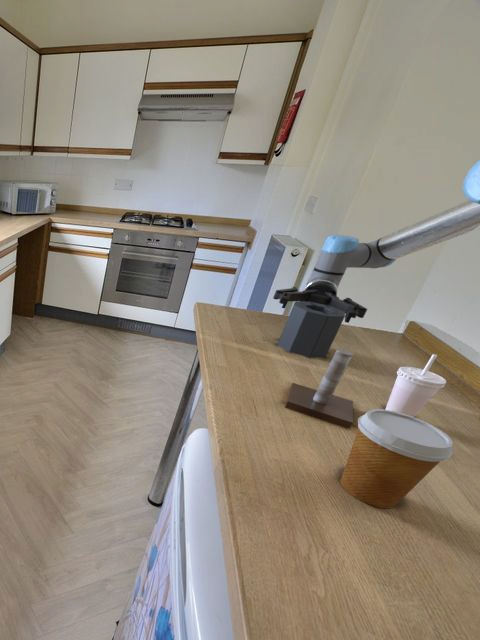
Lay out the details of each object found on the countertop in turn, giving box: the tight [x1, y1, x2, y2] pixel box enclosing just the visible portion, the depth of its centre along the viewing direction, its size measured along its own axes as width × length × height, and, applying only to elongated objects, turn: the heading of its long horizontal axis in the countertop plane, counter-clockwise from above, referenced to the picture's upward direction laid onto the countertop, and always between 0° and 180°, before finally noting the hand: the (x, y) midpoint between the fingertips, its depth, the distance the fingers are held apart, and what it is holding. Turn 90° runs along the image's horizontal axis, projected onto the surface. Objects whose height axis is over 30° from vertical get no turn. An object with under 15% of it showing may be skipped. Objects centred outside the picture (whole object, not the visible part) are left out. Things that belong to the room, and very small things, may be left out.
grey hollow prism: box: [276, 301, 346, 359], centre depth 103 cm, size 10×10×12 cm
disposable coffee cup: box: [339, 408, 454, 509], centre depth 59 cm, size 10×10×12 cm
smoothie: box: [384, 353, 447, 418], centre depth 77 cm, size 6×6×14 cm
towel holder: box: [284, 348, 354, 430], centre depth 79 cm, size 10×10×12 cm
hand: (315, 310), depth 108 cm, fingers open, 13 cm apart
